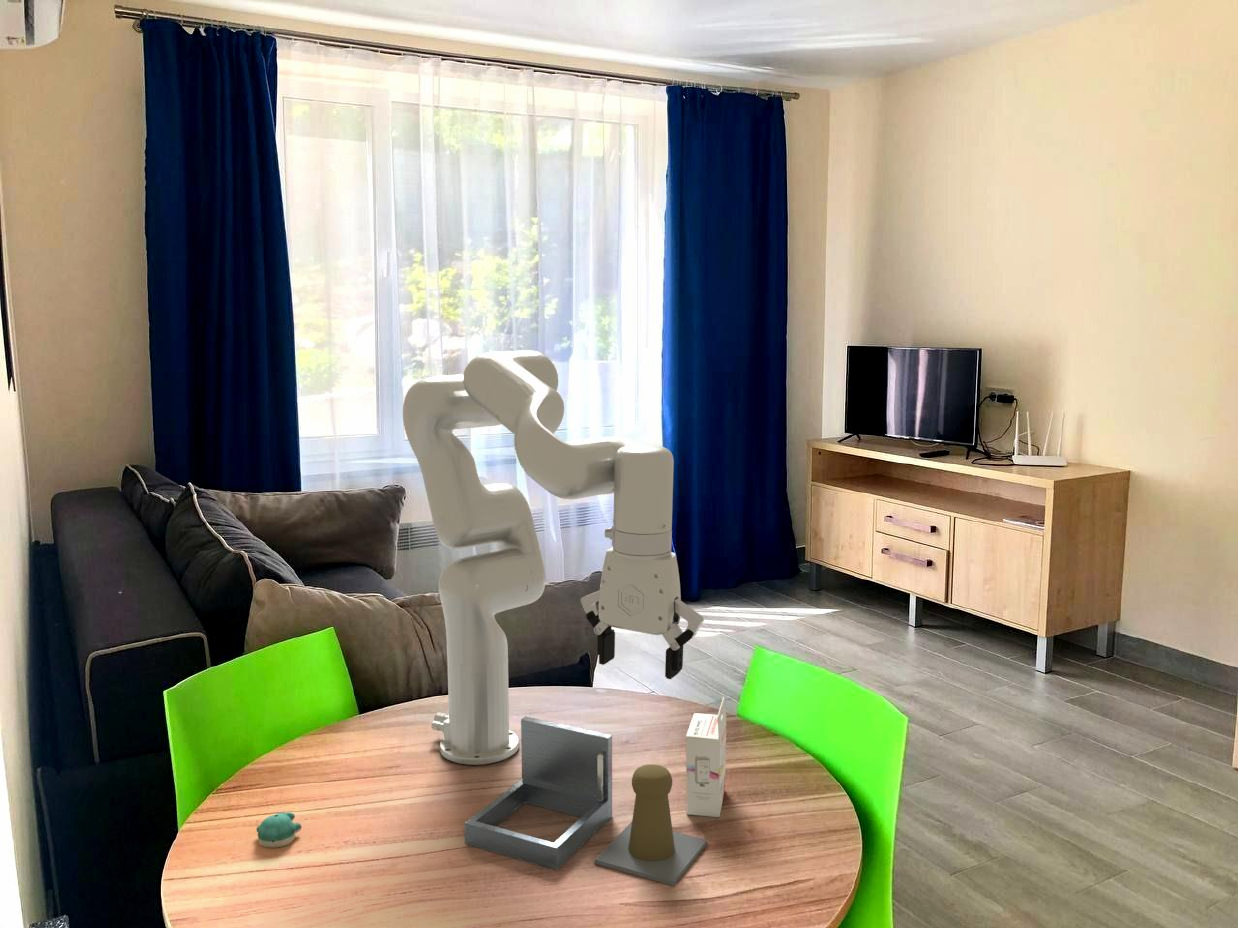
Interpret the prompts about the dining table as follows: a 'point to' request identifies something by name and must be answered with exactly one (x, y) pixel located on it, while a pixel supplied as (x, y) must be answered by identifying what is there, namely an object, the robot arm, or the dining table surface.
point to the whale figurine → (278, 830)
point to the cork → (651, 814)
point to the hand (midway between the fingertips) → (639, 668)
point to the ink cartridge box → (706, 763)
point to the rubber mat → (658, 871)
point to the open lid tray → (551, 792)
